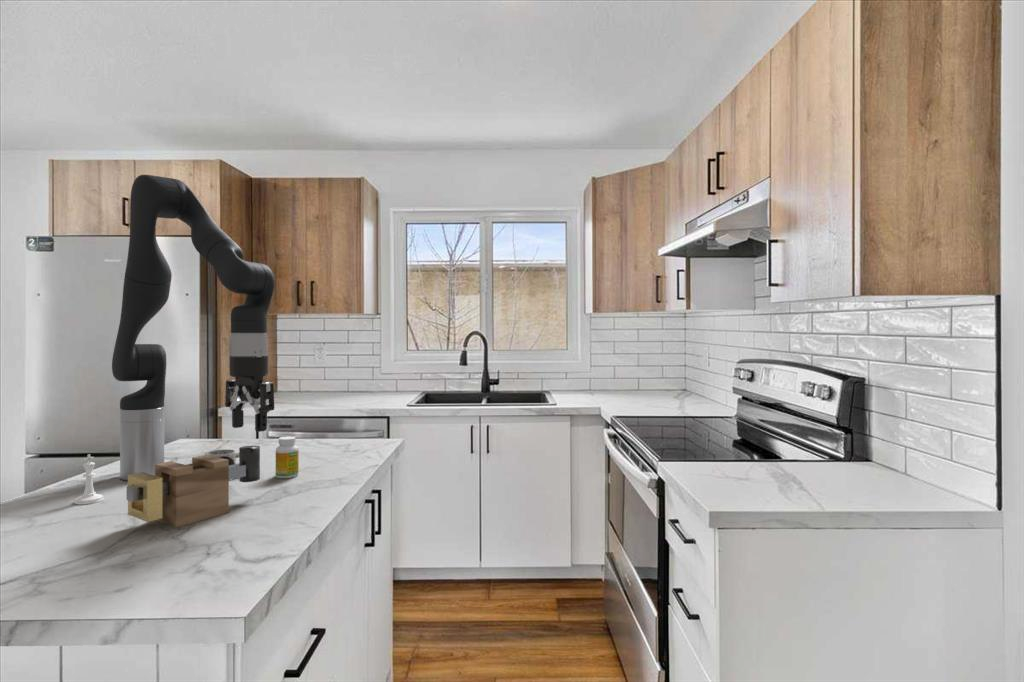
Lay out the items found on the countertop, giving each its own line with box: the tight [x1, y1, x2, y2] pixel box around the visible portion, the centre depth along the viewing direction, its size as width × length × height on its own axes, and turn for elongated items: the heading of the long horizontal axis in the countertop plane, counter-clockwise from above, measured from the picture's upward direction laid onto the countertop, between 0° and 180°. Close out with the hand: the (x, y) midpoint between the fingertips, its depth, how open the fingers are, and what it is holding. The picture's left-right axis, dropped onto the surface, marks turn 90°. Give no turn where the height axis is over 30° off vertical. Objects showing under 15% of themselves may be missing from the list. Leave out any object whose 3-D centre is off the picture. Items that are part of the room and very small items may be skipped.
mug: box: [204, 448, 239, 481], centre depth 136 cm, size 10×7×7 cm
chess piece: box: [74, 453, 105, 506], centre depth 116 cm, size 5×5×10 cm
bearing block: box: [155, 454, 230, 528], centre depth 107 cm, size 8×10×11 cm
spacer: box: [127, 472, 162, 523], centre depth 100 cm, size 7×2×7 cm, turn 58°
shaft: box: [126, 445, 261, 502], centre depth 108 cm, size 4×25×7 cm, turn 148°
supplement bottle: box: [275, 436, 300, 479], centre depth 138 cm, size 5×5×10 cm
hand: (249, 429), depth 117 cm, fingers open, 8 cm apart
